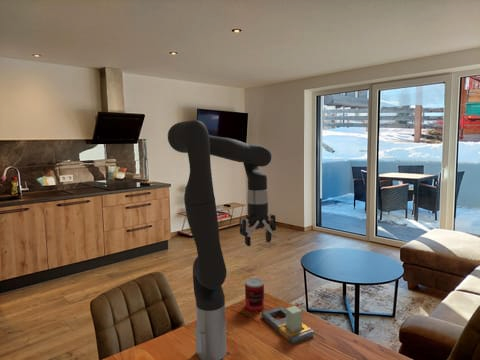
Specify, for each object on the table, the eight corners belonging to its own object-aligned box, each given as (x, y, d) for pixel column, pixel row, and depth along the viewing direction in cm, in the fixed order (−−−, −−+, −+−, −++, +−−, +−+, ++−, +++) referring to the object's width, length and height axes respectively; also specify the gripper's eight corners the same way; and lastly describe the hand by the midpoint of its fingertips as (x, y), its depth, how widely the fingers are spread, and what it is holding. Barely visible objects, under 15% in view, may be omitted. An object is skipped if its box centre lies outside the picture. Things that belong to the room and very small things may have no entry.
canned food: (255, 300, 146) (254, 276, 145) (268, 307, 140) (267, 282, 138) (241, 306, 141) (240, 281, 140) (254, 314, 135) (253, 287, 134)
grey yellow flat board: (292, 344, 115) (292, 338, 115) (261, 317, 133) (261, 311, 133) (313, 336, 119) (313, 330, 119) (281, 311, 137) (280, 305, 137)
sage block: (292, 337, 119) (292, 313, 118) (286, 331, 123) (285, 308, 121) (301, 334, 121) (301, 310, 120) (295, 328, 124) (295, 305, 123)
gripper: (245, 205, 119) (246, 250, 121) (279, 200, 125) (280, 243, 127) (235, 201, 125) (236, 244, 127) (268, 197, 132) (269, 238, 134)
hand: (258, 243), depth 127 cm, fingers open, 8 cm apart
